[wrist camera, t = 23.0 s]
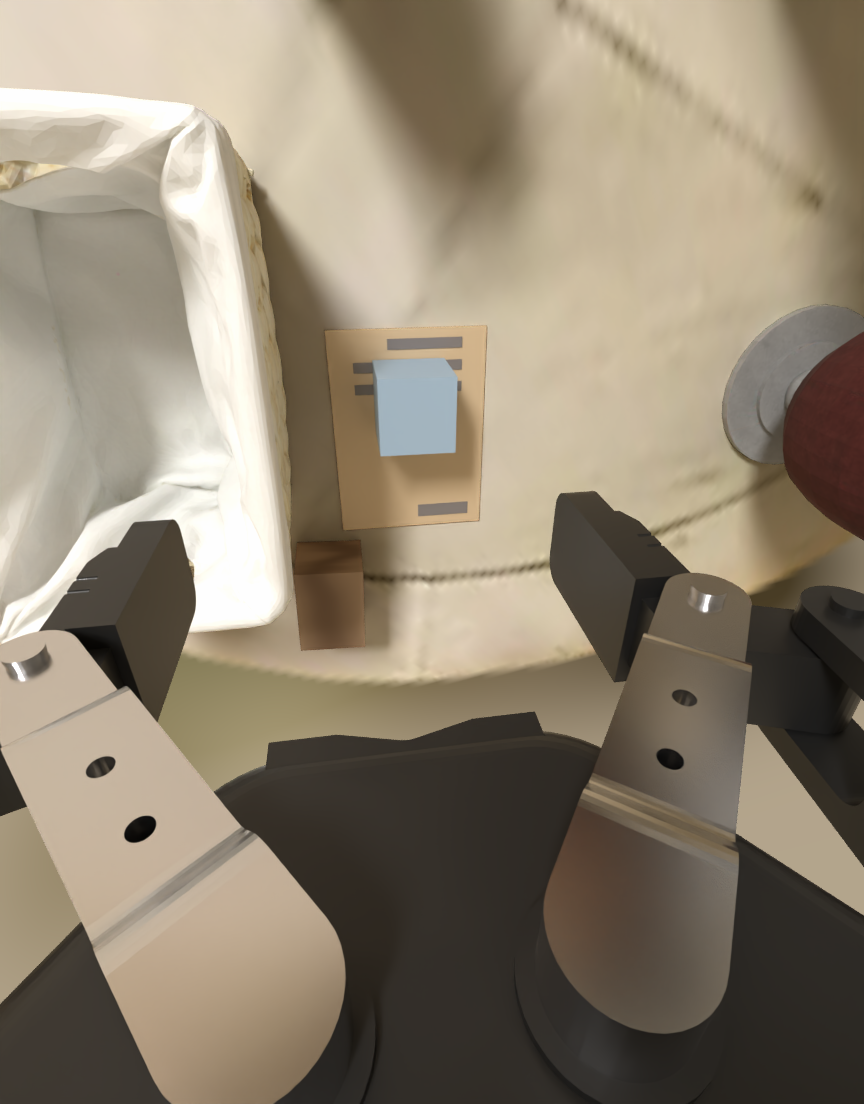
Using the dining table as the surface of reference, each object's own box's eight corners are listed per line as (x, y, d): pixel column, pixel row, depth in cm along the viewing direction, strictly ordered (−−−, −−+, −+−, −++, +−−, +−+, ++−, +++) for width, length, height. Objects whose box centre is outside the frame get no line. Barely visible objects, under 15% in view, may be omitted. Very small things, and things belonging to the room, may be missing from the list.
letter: (486, 325, 40) (487, 325, 39) (478, 519, 47) (478, 520, 47) (324, 330, 38) (324, 330, 38) (343, 529, 46) (343, 530, 46)
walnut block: (360, 539, 47) (363, 572, 42) (362, 609, 50) (365, 646, 46) (297, 541, 46) (293, 575, 42) (303, 613, 49) (300, 650, 45)
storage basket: (306, 514, 45) (296, 632, 32) (84, 527, 43) (-20, 658, 30) (264, 138, 33) (222, 90, 20) (-50, 129, 31) (-316, 70, 18)
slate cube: (444, 357, 40) (457, 376, 36) (443, 427, 43) (455, 452, 38) (372, 360, 39) (376, 379, 35) (375, 430, 42) (380, 456, 38)
